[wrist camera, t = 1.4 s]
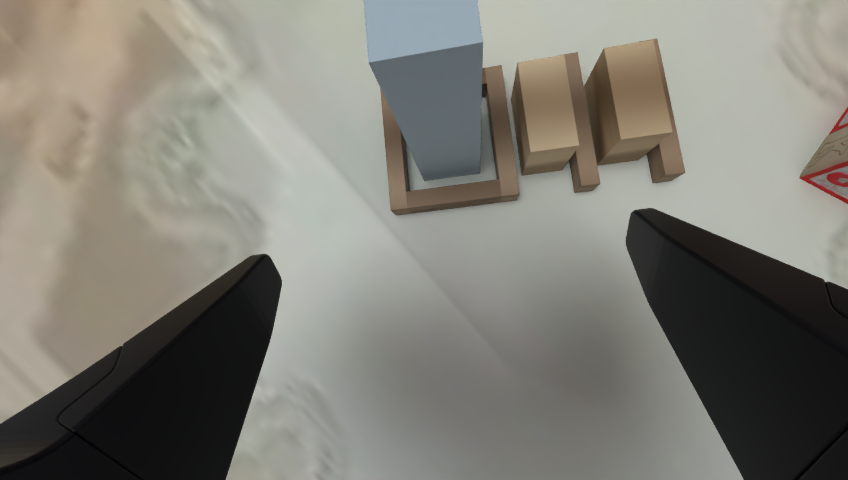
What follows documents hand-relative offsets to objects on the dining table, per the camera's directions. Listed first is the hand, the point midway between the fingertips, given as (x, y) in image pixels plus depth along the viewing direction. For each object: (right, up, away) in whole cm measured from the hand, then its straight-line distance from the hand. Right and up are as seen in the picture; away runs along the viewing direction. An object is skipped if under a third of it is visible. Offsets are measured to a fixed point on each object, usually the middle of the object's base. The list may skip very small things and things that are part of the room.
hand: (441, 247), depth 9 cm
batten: (+1, +6, +14) cm, 16 cm away
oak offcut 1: (+7, +7, +14) cm, 17 cm away
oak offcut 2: (+11, +7, +13) cm, 19 cm away
